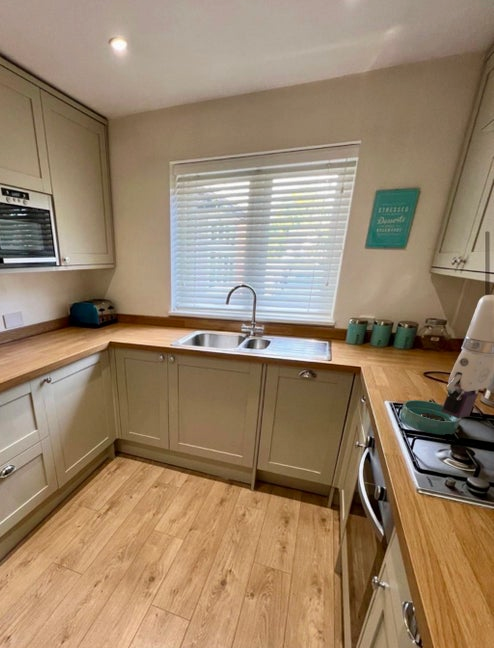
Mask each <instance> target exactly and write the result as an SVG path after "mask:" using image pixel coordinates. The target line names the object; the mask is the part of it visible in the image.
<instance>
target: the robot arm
mask: <svg viewBox="0 0 494 648" xmlns="http://www.w3.org/2000/svg"><path fill="white" fill-rule="evenodd" d="M468 326H469V327H468V328H467V329H468V330H467V331H466V335H465V337H464V340H463V342H462V345H461V348H460V349H461V351H460V353H459V355H458V357H457V359H456V361H455V363H454V365H453V367H452V370H451V373H450V375H449V377H448V382H447V383H448V385H447V386H446V387H445V390H446V391H447V395H446V397H447V396H448V398H447V401H446V403H445V402H444V403H445V406H444V409H445V410H447V411H449V412H451V413H454V414H457V413H458V410H459V408H460V405H461V403H462V400H461V398H462V396H463V395H464V393H465V391H466V392H469V391H470V392H473V393H476V394H478V395H479V391H481V390H483V389H484V390H485V389H487V388H488V387H489V386H490V384H491V382H492V379H493V377H494V294H486V295H483V296H481V298H480V299H478V301H477V305H476V308H475V310H474V313H473V316H472V318H471V321H470V324H469V325H468ZM457 385H460V386H461V388H460V387H457ZM456 389H457V390H460V392H459V394H458V391H456Z"/></svg>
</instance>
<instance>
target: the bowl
mask: <svg viewBox="0 0 494 648" xmlns="http://www.w3.org/2000/svg"><path fill="white" fill-rule="evenodd" d="M443 405H444V404H440V403H437V402H433V401H428V400H422V399H421V400H420V399H409V400H406V401H404V403H403V404H402V407H401V411H400V414H399V419H400V420H401V421H402V422H403V423H404V424H406V425H407V426H409V427H412V428H413V429H416V430H418V431H420V432H424V433H429V434H434V435H440V436H441V435H442V436H446V435H445V434H450V435H453V434H455V433H456V432H457V430H458V427H459V425H460V423H461V420H462V418H457V417H454V416H452V415H450V414H447V413H445V412H443V411H442V408H443ZM422 413H429V414H434V415H437V416H441V417H443V418H444V419H446V420H447V421H440V420H435V419H430V418H427V417H423V416H421V414H422ZM454 432H455V433H454ZM452 433H453V434H452Z"/></svg>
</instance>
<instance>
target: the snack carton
mask: <svg viewBox="0 0 494 648" xmlns="http://www.w3.org/2000/svg"><path fill="white" fill-rule="evenodd" d="M456 391H458V394H459V392H460V390H457V389H456ZM478 395H479V393H478V394H476V393H473V392H470V391H469V392H466V391H465V393H464V395H463V396H462V398H461V400H462V403H461V405H460V408H459V410H458V413H457V414H454V413H451V412H449V411H447V410H445V409H444V406H445V403H446V401H447V398H448V396H447V395H446V397H445V400H444V403H443V404H442V405H443V408H442V411H443V412H445V413H447V414H450V415H452V416H454V417H457V418H461V419H462V418H466V417H469V416H470V414H471V412H472V410H473V408H474V405H475V403H476V401H477V398H478Z"/></svg>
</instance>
